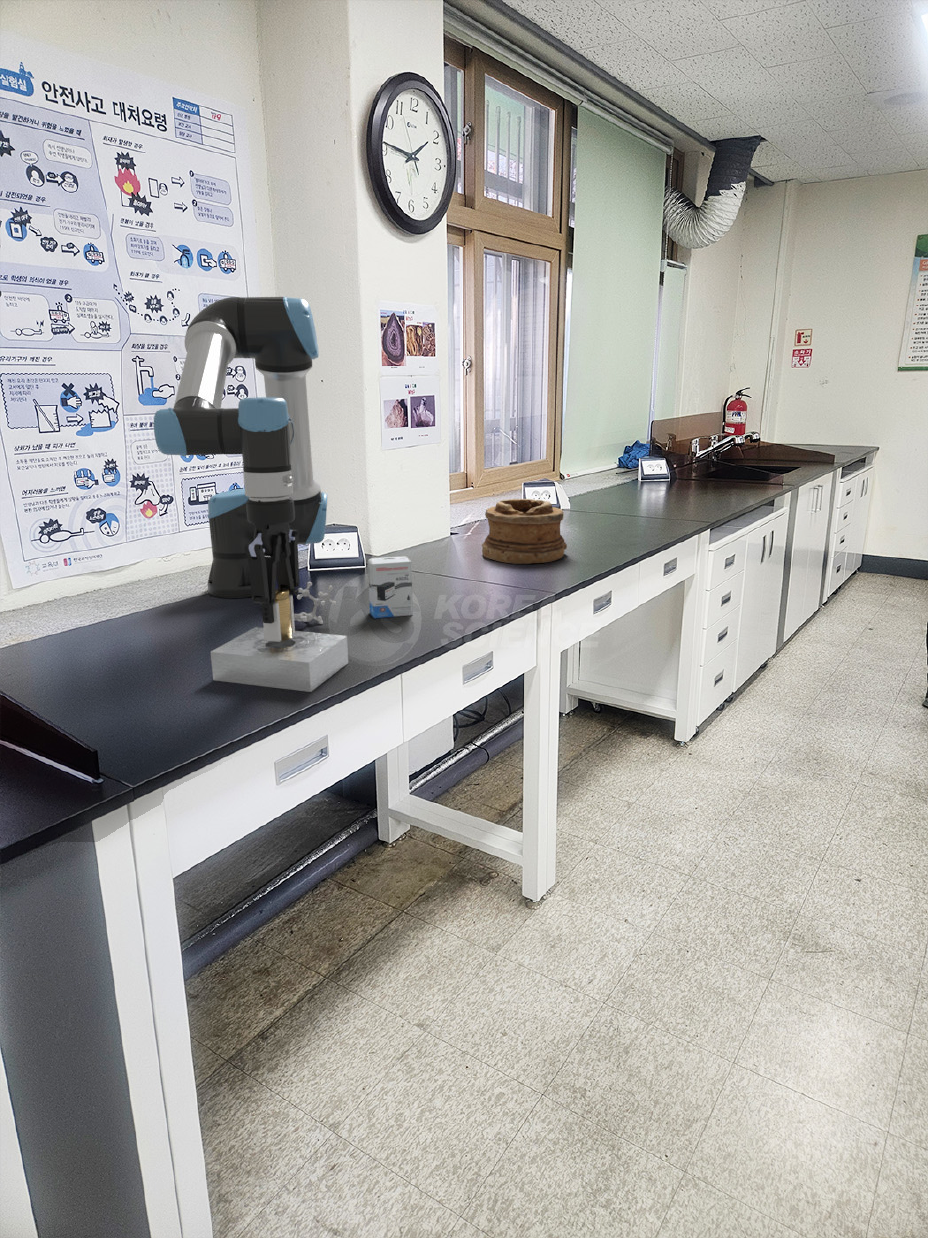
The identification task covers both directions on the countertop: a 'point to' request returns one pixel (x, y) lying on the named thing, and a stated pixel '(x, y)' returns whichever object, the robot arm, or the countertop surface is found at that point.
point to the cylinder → (284, 613)
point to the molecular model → (317, 602)
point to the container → (524, 532)
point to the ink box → (390, 587)
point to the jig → (280, 660)
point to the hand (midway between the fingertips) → (280, 635)
